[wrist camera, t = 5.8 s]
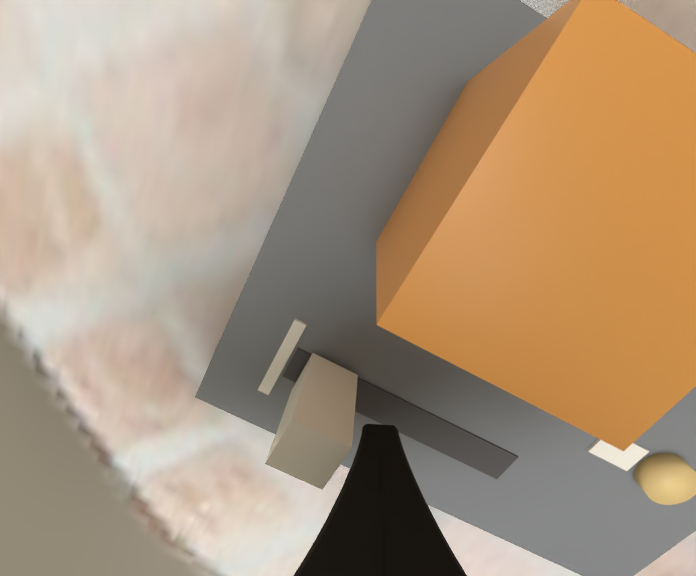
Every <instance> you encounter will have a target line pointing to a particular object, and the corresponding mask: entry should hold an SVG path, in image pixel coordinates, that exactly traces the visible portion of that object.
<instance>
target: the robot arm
mask: <svg viewBox="0 0 696 576" xmlns="http://www.w3.org/2000/svg"><path fill="white" fill-rule="evenodd" d="M294 576H467V575H466V574H465V572H464V570H463V569H462V567H461V565H460V564H459V562H458V560H457V559H456V557H455V555H454V554H453V552H452V550H451V548H450V547H449V545H448V543H447V541H446V540H445V538H444V536H443V534H442V532H441V530H440V529H439V527H438V525H437V523H436V521H435V519H434V517H433V515H432V513H431V511H430V509H429V507H428V505H427V503H426V501H425V499H424V497H423V495H422V493H421V490H420V488H419V486H418V484H417V482H416V479H415V477H414V475H413V473H412V470H411V468H410V465H409V463H408V460H407V457H406V455H405V452H404V449H403V446H402V443H401V440H400V436H399V432H398V429H397V428H396V427H395V426H394V425H381V424H366V425H364V426H363V428H362V434H361V438H360V442H359V446H358V449H357V452H356V455H355V458H354V461H353V463H352V466H351V468H350V471H349V473H348V475H347V478H346V480H345V483H344V485H343V487H342V490H341V492H340V494H339V496H338V498H337V500H336V502H335V504H334V506H333V508H332V510H331V512H330V514H329V516H328V518H327V520H326V522H325V524H324V526H323V527H322V529H321V531H320V533H319V535H318V536H317V538H316V540H315V542H314V543H313V545H312V547H311V548H310V550H309V552H308V554H307V555H306V557H305V559H304V560H303V562H302V563H301V565H300V567H299V568H298V570H297V571H296V573H295V574H294Z"/></svg>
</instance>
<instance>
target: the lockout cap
mask: <svg viewBox="0 0 696 576" xmlns="http://www.w3.org/2000/svg"><path fill="white" fill-rule="evenodd" d="M376 319H377V325H378V326H380V327H382V328H384V329H386V330H388V331H390V332H391V333H393V334H395V335H397V336H399V337H401V338H403V339H405V340H407V341H409V342H411V343H413V344H415V345H417V346H419V347H421V348H423V349H425V350H427V351H429V352H431V353H432V354H434V355H436V356H438V357H440V358H442V359H444V360H446V361H448V362H450V363H452V364H454V365H456V366H458V367H460V368H462V369H464V370H466V371H468V372H470V373H471V374H473V375H475V376H477V377H479V378H481V379H483V380H485V381H487V382H489V383H491V384H493V385H495V386H497V387H499V388H501V389H503V390H505V391H507V392H509V393H511V394H512V395H514V396H516V397H518V398H520V399H522V400H524V401H526V402H528V403H530V404H532V405H534V406H536V407H538V408H540V409H542V410H544V411H546V412H548V413H550V414H551V415H553V416H555V417H557V418H559V419H561V420H563V421H565V422H567V423H569V424H571V425H573V426H575V427H577V428H579V429H581V430H583V431H585V432H587V433H589V434H591V435H592V436H594V437H596V438H598V439H600V440H602V441H604V442H606V443H608V444H610V445H612V446H614V447H616V448H618V449H620V450H622V451H625V450H626V449H627V448H628V447H629V446H630V445H631V444H632V443H633V442H634V441H636V440H637V439H638V438H639V437H640V436H641V435H642V434H643V433H644V432H646V431H647V430H648V429H649V428H650V427H651V426H652V425H653V424H654V423H656V422H657V421H658V420H659V419H660V418H661V417H662V416H663V415H664V414H666V413H667V412H668V411H669V410H670V409H671V408H672V407H673V406H674V405H676V404H677V403H678V402H679V401H680V400H681V399H682V398H683V397H684V396H686V395H687V394H688V393H689V392H690V391H691V390H692V389H693V388H694V387H696V53H694V52H693V51H691V50H690V49H689V48H687V47H686V46H684V45H683V44H681V43H680V42H678V41H677V40H675V39H674V38H672V37H671V36H669V35H668V34H666V33H665V32H663V31H662V30H660V29H659V28H657V27H656V26H654V25H653V24H651V23H650V22H648V21H647V20H645V19H644V18H642V17H641V16H639V15H638V14H637V13H635V12H634V11H632V10H631V9H629V8H628V7H626V6H625V5H623V4H622V3H620V2H619V1H617V0H570V1H569V2H567V3H566V4H565V5H564V6H562V7H561V8H560V9H559V10H557V11H556V12H555V13H554V14H552V15H551V16H550V17H548V18H547V19H546V20H545V21H543V22H542V23H541V24H540V25H538V26H537V27H536V28H535V29H533V30H532V31H531V32H529V33H528V34H527V35H526V36H524V37H523V38H522V39H521V40H519V41H518V42H517V43H516V44H514V45H513V46H512V47H511V48H509V49H508V50H507V51H505V52H504V53H503V54H502V55H500V56H499V57H498V58H497V59H495V60H494V61H493V62H492V63H490V64H489V65H488V66H486V67H485V68H484V69H483V70H481V71H480V72H479V73H478V74H476V75H475V76H474V77H473V78H471V79H470V80H469V81H468V82H467V84H466V85H465V87H464V89H463V91H462V92H461V94H460V96H459V98H458V99H457V101H456V103H455V105H454V106H453V108H452V110H451V112H450V113H449V115H448V117H447V119H446V120H445V122H444V124H443V126H442V127H441V129H440V131H439V133H438V134H437V136H436V138H435V140H434V141H433V143H432V145H431V147H430V148H429V150H428V152H427V154H426V155H425V157H424V159H423V161H422V162H421V164H420V166H419V168H418V169H417V171H416V173H415V175H414V176H413V178H412V180H411V182H410V183H409V185H408V187H407V189H406V190H405V192H404V194H403V196H402V197H401V199H400V201H399V203H398V204H397V206H396V208H395V210H394V211H393V213H392V215H391V217H390V218H389V220H388V222H387V224H386V225H385V227H384V229H383V231H382V232H381V234H380V236H379V238H378V239H377V241H376Z"/></svg>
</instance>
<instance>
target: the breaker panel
mask: <svg viewBox="0 0 696 576" xmlns="http://www.w3.org/2000/svg"><path fill="white" fill-rule="evenodd" d="M546 19H547V18H546V17H544V16H542V15H541V14H539V13H538V12H536V11H535V10H533V9H532V8H530V7H529V6H527V5H526V4H524V3H522V2H521V1H519V0H372V1H371V3H370V5H369V7H368V10H367V12H366V14H365V16H364V19H363V21H362V23H361V25H360V28H359V30H358V32H357V34H356V37H355V39H354V41H353V43H352V46H351V48H350V50H349V52H348V55H347V57H346V59H345V61H344V64H343V66H342V68H341V70H340V73H339V75H338V77H337V79H336V82H335V84H334V86H333V88H332V91H331V93H330V95H329V97H328V99H327V102H326V104H325V106H324V108H323V111H322V113H321V115H320V117H319V120H318V122H317V124H316V126H315V129H314V131H313V133H312V135H311V138H310V140H309V142H308V144H307V147H306V149H305V151H304V153H303V156H302V158H301V160H300V162H299V165H298V167H297V169H296V171H295V174H294V176H293V178H292V180H291V183H290V185H289V187H288V189H287V192H286V194H285V196H284V198H283V201H282V203H281V205H280V207H279V210H278V212H277V214H276V216H275V218H274V221H273V223H272V225H271V227H270V230H269V232H268V234H267V236H266V239H265V241H264V243H263V245H262V248H261V250H260V252H259V254H258V257H257V259H256V261H255V263H254V266H253V268H252V270H251V272H250V275H249V277H248V279H247V281H246V284H245V286H244V288H243V290H242V293H241V295H240V297H239V299H238V302H237V304H236V306H235V308H234V311H233V313H232V315H231V317H230V320H229V322H228V324H227V326H226V329H225V331H224V333H223V335H222V337H221V340H220V342H219V344H218V346H217V349H216V351H215V353H214V355H213V358H212V360H211V362H210V364H209V367H208V369H207V371H206V373H205V376H204V378H203V380H202V382H201V385H200V387H199V389H198V391H197V394H196V396H195V397H196V398H198V399H200V400H202V401H205V402H207V403H209V404H211V405H213V406H215V407H218V408H220V409H222V410H224V411H226V412H228V413H231V414H233V415H235V416H237V417H239V418H241V419H244V420H246V421H248V422H250V423H252V424H254V425H257V426H259V427H261V428H263V429H265V430H267V431H270V432H272V433H274V434H276V432H277V430H278V427H279V424H280V421H281V418H282V416H283V413H284V410H285V407H286V404H287V402H288V399H289V396H290V393H291V390H292V388H293V387H294V385H295V383H296V381H297V380H298V378H299V376H300V374H301V373H302V371H303V369H304V367H305V366H306V364H307V362H308V360H309V359H310V357H311V355H312V353H314V354H316V355H318V356H320V357H323V358H325V359H327V360H329V361H331V362H333V363H335V364H337V365H339V366H341V367H343V368H345V369H347V370H349V371H351V372H353V373H355V374H357V375H358V380H357V392H356V404H355V416H354V428H353V440H352V448H351V450H350V451H349V453H348V454H347V455H346V457H345V458H344V460H343V461H342V462H341V465H343V466H346V467H348V468H351V466H352V463H353V461H354V458H355V455H356V452H357V449H358V446H359V442H360V438H361V434H362V428H363V426H364V425H366V424H381V425H394V426H395V427H396V428H397V429H398V432H399V436H400V440H401V443H402V446H403V449H404V452H405V455H406V457H407V460H408V463H409V465H410V468H411V470H412V473H413V475H414V477H415V479H416V482H417V484H418V486H419V488H420V490H421V493H422V495H423V497H424V499H425V501H426V503H427V504H428V505H430V506H432V507H434V508H437V509H439V510H441V511H443V512H445V513H447V514H450V515H452V516H454V517H456V518H458V519H461V520H463V521H465V522H467V523H469V524H471V525H474V526H476V527H478V528H480V529H482V530H484V531H487V532H489V533H491V534H493V535H495V536H497V537H500V538H502V539H504V540H506V541H508V542H510V543H513V544H515V545H517V546H519V547H521V548H523V549H526V550H528V551H530V552H532V553H534V554H536V555H539V556H541V557H543V558H545V559H547V560H549V561H552V562H554V563H556V564H558V565H560V566H562V567H565V568H567V569H569V570H571V571H573V572H575V573H578V574H580V575H582V576H634V575H635V574H637V573H638V572H639V571H641V570H642V569H643V568H645V567H646V566H648V565H649V564H650V563H652V562H653V561H654V560H656V559H657V558H659V557H660V556H661V555H663V554H664V553H665V552H667V551H668V550H670V549H671V548H672V547H674V546H675V545H676V544H678V543H679V542H681V541H682V540H683V539H685V538H686V537H687V536H689V535H690V534H692V533H693V532H694V531H696V387H694V388H693V389H692V390H691V391H690V392H689V393H688V394H687V395H686V396H684V397H683V398H682V399H681V400H680V401H679V402H678V403H677V404H676V405H674V406H673V407H672V408H671V409H670V410H669V411H668V412H667V413H666V414H664V415H663V416H662V417H661V418H660V419H659V420H658V421H657V422H656V423H654V424H653V425H652V426H651V427H650V428H649V429H648V430H647V431H646V432H644V433H643V434H642V435H641V436H640V437H639V438H638V439H637V440H636V441H634V442H633V443H632V444H631V445H630V446H629V447H628V448H627V449H626V450H625V451H622V450H620V449H618V448H616V447H614V446H612V445H610V444H608V443H606V442H604V441H602V440H600V439H598V438H596V437H594V436H592V435H591V434H589V433H587V432H585V431H583V430H581V429H579V428H577V427H575V426H573V425H571V424H569V423H567V422H565V421H563V420H561V419H559V418H557V417H555V416H553V415H551V414H550V413H548V412H546V411H544V410H542V409H540V408H538V407H536V406H534V405H532V404H530V403H528V402H526V401H524V400H522V399H520V398H518V397H516V396H514V395H512V394H511V393H509V392H507V391H505V390H503V389H501V388H499V387H497V386H495V385H493V384H491V383H489V382H487V381H485V380H483V379H481V378H479V377H477V376H475V375H473V374H471V373H470V372H468V371H466V370H464V369H462V368H460V367H458V366H456V365H454V364H452V363H450V362H448V361H446V360H444V359H442V358H440V357H438V356H436V355H434V354H432V353H431V352H429V351H427V350H425V349H423V348H421V347H419V346H417V345H415V344H413V343H411V342H409V341H407V340H405V339H403V338H401V337H399V336H397V335H395V334H393V333H391V332H390V331H388V330H386V329H384V328H382V327H380V326H378V325H377V319H376V241H377V239H378V238H379V236H380V234H381V232H382V231H383V229H384V227H385V225H386V224H387V222H388V220H389V218H390V217H391V215H392V213H393V211H394V210H395V208H396V206H397V204H398V203H399V201H400V199H401V197H402V196H403V194H404V192H405V190H406V189H407V187H408V185H409V183H410V182H411V180H412V178H413V176H414V175H415V173H416V171H417V169H418V168H419V166H420V164H421V162H422V161H423V159H424V157H425V155H426V154H427V152H428V150H429V148H430V147H431V145H432V143H433V141H434V140H435V138H436V136H437V134H438V133H439V131H440V129H441V127H442V126H443V124H444V122H445V120H446V119H447V117H448V115H449V113H450V112H451V110H452V108H453V106H454V105H455V103H456V101H457V99H458V98H459V96H460V94H461V92H462V91H463V89H464V87H465V85H466V84H467V82H468V81H469V80H470V79H471V78H473V77H474V76H475V75H476V74H478V73H479V72H480V71H481V70H483V69H484V68H485V67H486V66H488V65H489V64H490V63H492V62H493V61H494V60H495V59H497V58H498V57H499V56H500V55H502V54H503V53H504V52H505V51H507V50H508V49H509V48H511V47H512V46H513V45H514V44H516V43H517V42H518V41H519V40H521V39H522V38H523V37H524V36H526V35H527V34H528V33H529V32H531V31H532V30H533V29H535V28H536V27H537V26H538V25H540V24H541V23H542V22H543V21H545V20H546Z"/></svg>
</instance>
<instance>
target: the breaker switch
mask: <svg viewBox="0 0 696 576" xmlns="http://www.w3.org/2000/svg"><path fill="white" fill-rule="evenodd" d="M357 380H358V375H357V374H355V373H353V372H351V371H349V370H347V369H345V368H343V367H341V366H339V365H337V364H335V363H333V362H331V361H329V360H327V359H325V358H323V357H320V356H318V355H316V354H314V353H312V355H311V357H310V359H309V360H308V362H307V364H306V366H305V367H304V369H303V371H302V373H301V374H300V376H299V378H298V380H297V381H296V383H295V385H294V387H293V388H292V390H291V393H290V396H289V399H288V402H287V404H286V407H285V410H284V413H283V416H282V418H281V421H280V424H279V427H278V430H277V432H276V435H275V438H274V441H273V444H272V446H271V449H270V452H269V455H268V458H267V460H266V463H265V464H267V465H269V466H271V467H274V468H276V469H278V470H280V471H282V472H285V473H287V474H289V475H291V476H294V477H296V478H298V479H300V480H302V481H305V482H307V483H309V484H311V485H314V486H316V487H318V488H320V489H323V488H324V486H325V485H326V484H327V482H328V481H329V479H330V478H331V477H332V475H333V474H334V472H335V471H336V469H337V468H338V467H339V465H340V464H341V462H342V461H343V460H344V458H345V457H346V455H347V454H348V453H349V451H350V450H351V448H352V440H353V428H354V416H355V404H356V392H357Z"/></svg>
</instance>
